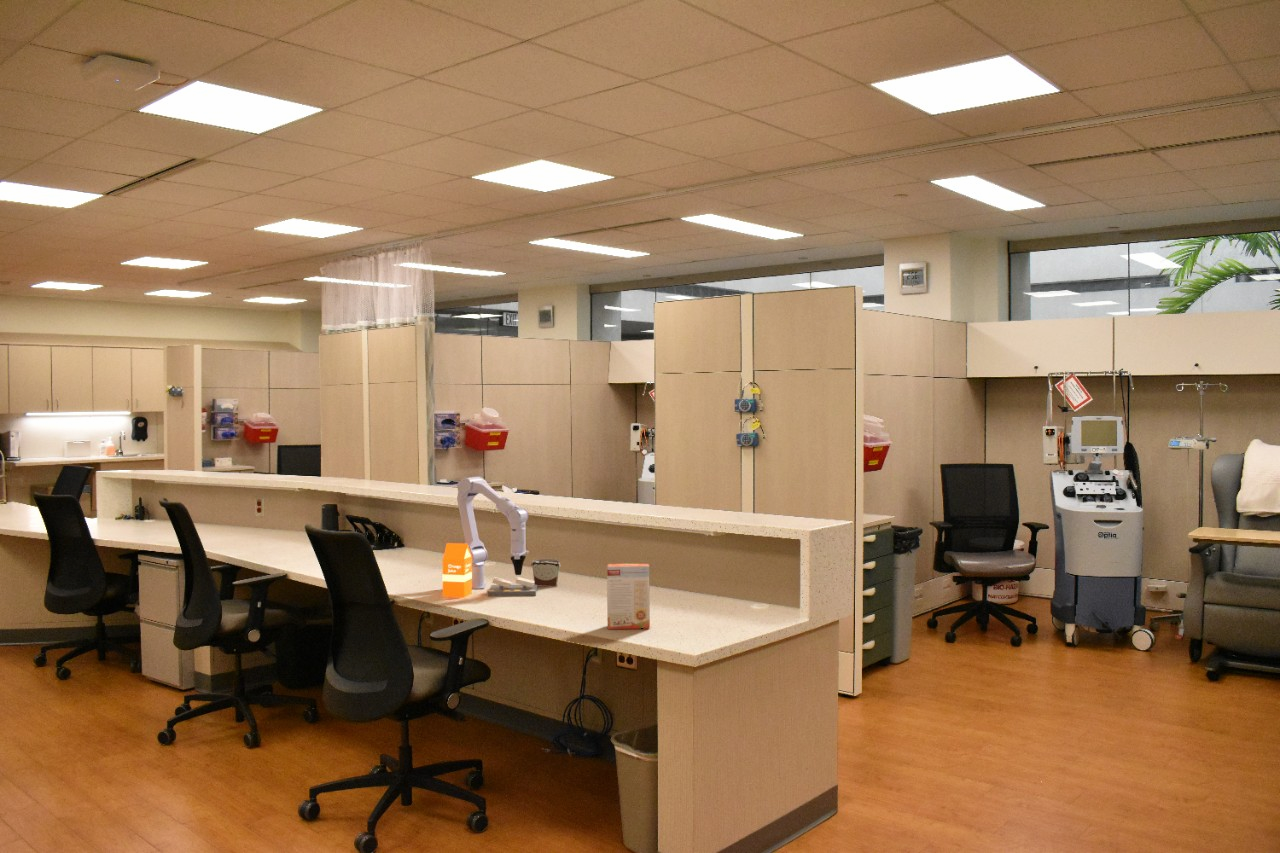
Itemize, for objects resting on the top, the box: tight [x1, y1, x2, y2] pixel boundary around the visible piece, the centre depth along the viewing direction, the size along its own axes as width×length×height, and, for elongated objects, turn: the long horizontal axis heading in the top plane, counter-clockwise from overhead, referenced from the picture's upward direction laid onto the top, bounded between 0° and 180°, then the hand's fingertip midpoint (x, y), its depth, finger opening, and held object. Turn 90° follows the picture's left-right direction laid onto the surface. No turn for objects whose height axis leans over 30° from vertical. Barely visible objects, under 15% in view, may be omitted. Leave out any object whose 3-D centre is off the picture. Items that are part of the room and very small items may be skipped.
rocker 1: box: [492, 576, 512, 588], centre depth 372 cm, size 7×5×2 cm
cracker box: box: [606, 563, 651, 630], centre depth 316 cm, size 14×6×21 cm, turn 92°
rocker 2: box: [515, 576, 535, 587], centre depth 373 cm, size 7×5×2 cm
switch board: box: [487, 584, 538, 597], centre depth 373 cm, size 18×14×3 cm
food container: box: [530, 558, 561, 587], centre depth 388 cm, size 12×6×10 cm, turn 76°
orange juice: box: [442, 542, 473, 599], centre depth 367 cm, size 8×9×20 cm
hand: (518, 574), depth 372 cm, fingers closed
